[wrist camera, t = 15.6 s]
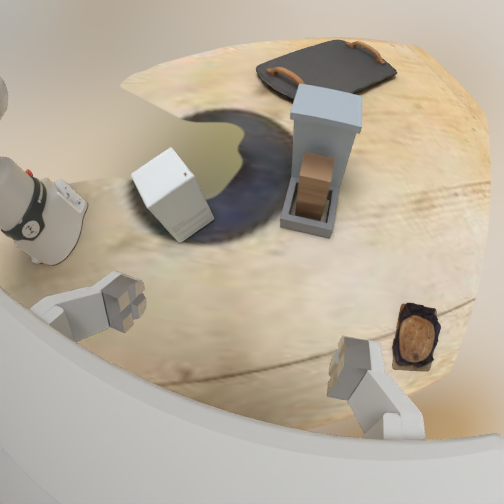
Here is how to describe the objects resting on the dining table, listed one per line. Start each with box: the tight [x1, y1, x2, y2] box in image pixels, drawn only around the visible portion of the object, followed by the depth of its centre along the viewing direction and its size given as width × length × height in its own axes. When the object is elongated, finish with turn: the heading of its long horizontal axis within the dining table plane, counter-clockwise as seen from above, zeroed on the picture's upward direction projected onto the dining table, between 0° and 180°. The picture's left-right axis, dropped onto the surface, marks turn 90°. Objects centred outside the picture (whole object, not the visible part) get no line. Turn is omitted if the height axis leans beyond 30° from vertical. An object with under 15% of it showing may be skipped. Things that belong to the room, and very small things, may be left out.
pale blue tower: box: [280, 84, 362, 238], centre depth 37 cm, size 14×9×17 cm, turn 164°
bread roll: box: [392, 303, 441, 371], centre depth 34 cm, size 11×8×4 cm
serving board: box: [256, 40, 397, 99], centre depth 55 cm, size 39×23×6 cm, turn 127°
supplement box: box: [131, 148, 214, 243], centre depth 40 cm, size 7×7×13 cm
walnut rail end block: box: [295, 152, 335, 221], centre depth 39 cm, size 4×4×12 cm
